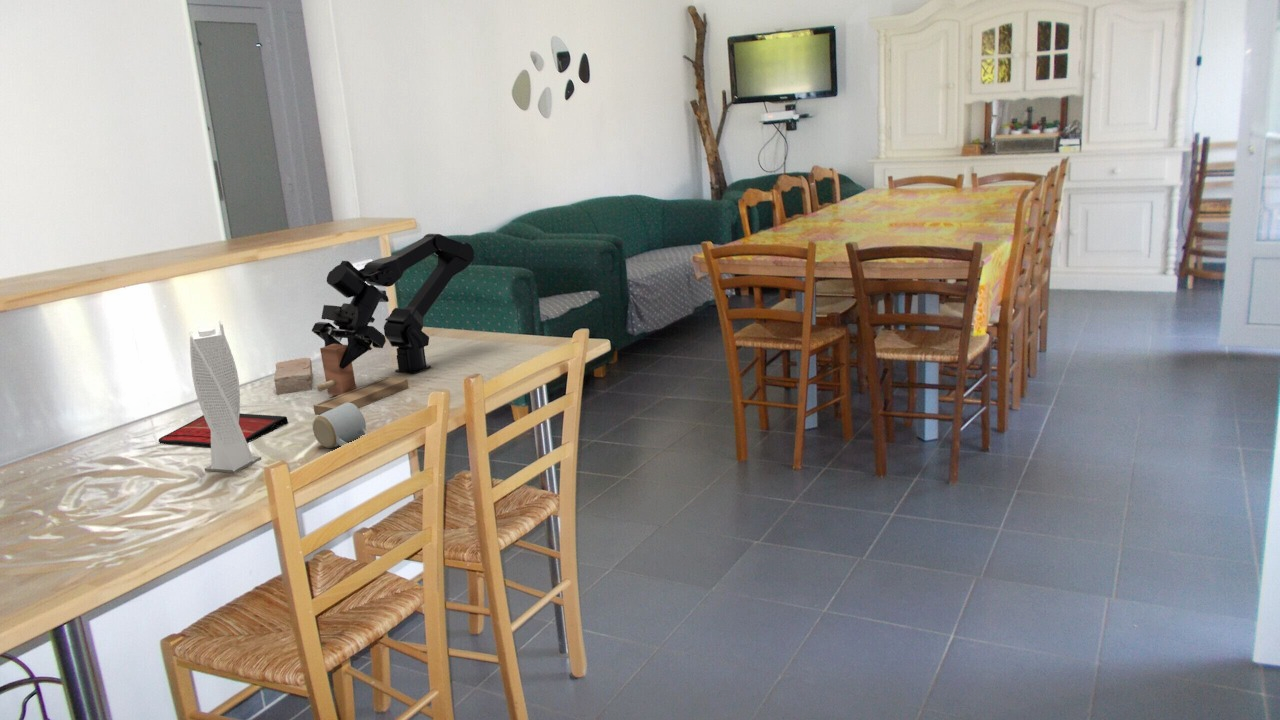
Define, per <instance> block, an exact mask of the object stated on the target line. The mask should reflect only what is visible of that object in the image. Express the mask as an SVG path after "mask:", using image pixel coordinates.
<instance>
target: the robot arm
mask: <svg viewBox="0 0 1280 720" xmlns="http://www.w3.org/2000/svg"><path fill="white" fill-rule="evenodd" d="M474 251H475V250H474V248H473V246H472V245H471V244H470V243H468V242H460V241H457V240H455V239H452V238H449V237H446V236H445V235H443V234H439V233H427V234H425V235H424V236H423V237H422V238H420V239H418V240H417V241H415V242H413V243H411V244H410V245H407V247H405V248H403V249H402V250H400V251H398V252H396V253H394V254H393V255H390V256H385V257H381V258H377V259H374V260H372V261H369V262H367V263H366V264H365V265H364V266H363V268H361V269H357V268H356V267H355V266H354V265H353V264H352V263H351V262H350V261H349V260H341V262H340V264H338V265H337V266H335V267H334V268H332V270H330V271H329V272H328V274H327V277H326V283H327V285H329V286H330V287H332V288H333V289H334V290H336V291H337V292H338V293H340V294H341V295H342V296H344V297H345V298H347V299H348V298H352V299H351V300H350V302H349V303H342V305H339V306H337V305H329V304H323V307H322V313H321V320H329V321H332V323H330V322H324V321H318V322H315V323H314V325H313V326H312V329H311V332H312V333H313V334H315V335H316V336H318V337H319V338H320V339H322V341H323V340H324V347H325V346H328V345H331V344H342V345H344V344H343V343H342V339H343V338H344V339H347V345H348V346H347V348H346V350H345V353H344V355H343V357H342V360H341V363H340V368H342V369H344V368H345V367H346V366H348V365H349V364H350V363H352V364H353V362H355V360H357V359H358V358H360V357H361V356H362V355H364V354H365V353H367V352H368V351H372V350H373V348H375V349H377V348H378V349H383V348H384V346H385V344H386V341H387V340H388V342H389V344H390V346H391V347H392V348H393V347H394V348H396V354H397V355H396V361H397V362H396V363H397V367H398V368H397V369H394V373H401V374H411V375H414V374H417V373H420V372H423V371H425V370H428V369H430V368H432V365H431V364H427V361H426V353H425V347H427V346H429V344H430V342H429V341H430V336H428V335H427V334H426V333H425V332H423V331H422V330H423V327H424V318H425V316H426V315H427V314H428V312H429V310H431V308H432V307H433V305H434V304H435V302H436V301H437V300H438V299H439V297H440V295H441V294H442V293H443V291H444V290H445V289H446V288H447V286H448V285H449V283H450V282H451V281H452V279H453V278H454V277H455V276H456V275H458V274H460V273H462V272H463V271H466V269H467V268H468V267H469V266H471V264H472V263H473V261H474V260H475V252H474ZM431 255H435V256H437V261H436V262H437V263H436V267H435V268H434V269H433V270H432V271H431V273H430V274H429V276H428V277H427V279H426V280H425V281H424V282H423V284H422V286H420V288H419V289H418V291H417V292H416V293H415V294H414V296H413V297H412V299H411V300H410V301H409V302H408V304H407V305H406V306H405V307H404V308H402V307H401V308H399V307H394V308H393V310H392V311H391V313H390V314H389V315H388V316H387V317H386V318H385V323H384V325H383V333H384V334H383V333H382V332H381V331H379V330H378V329H377V328H376V327H375V326H373V325H369V323H370V324H371V323H373V324H374V322H375V320H376V318H375V317H373V315H374V313H375V311H376V310H377V307H378V305H379V303H388V302H389V301H390V300H389V297H388V294H387V291H386V290H380V289H379V288H378V287H385V288H386V287H389V288H390V287H391V286H394V285H395V283H397V282H398V281H399V280H401V278H402V277H403V274H404V273H405V272H406V271H407V270H408V269H409V268H411V267H414V265H416V264H418V263H420V262H422V261H423V260H425V259H426V258H428V257H430V256H431ZM335 326H336V327H335ZM337 327H338V328H337ZM371 345H372V347H371Z"/></svg>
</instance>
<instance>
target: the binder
mask: <svg viewBox="0 0 1280 720" xmlns="http://www.w3.org/2000/svg"><path fill="white" fill-rule="evenodd" d="M282 424H283V425H287V424H289V421H288V417H287V416H285V415H284V416H282V415H272V414H271V415H269V414H267V415H266V414H251V413H240V414H239V426H240V428H241V430H242V432H243V435H244V437H245V439H246V442H247V443H249V442H251V441H253V440H255V439H258V438H260V437H263V436H265V435H267V434H269V433H271V432H273V431H275V430H277V429H278V427H275V426H276V425H282ZM273 427H275V428H273ZM159 442H160V443H159ZM158 443H159V444H161V443H164V444H163V445H181V444H183V445H184V446H197V445H199V447H200V446H201V447H209V448H211V430H210V428H209V426H208V424H207V422H206V420H205V417H204V415H203V414H202V415H201V416H200V417H197V418H196V419H194V420H192V421H190V422H188V423H187V424H183V426H181V427H178V428H176V429H175V430H173V431H171V432H169V433H167V434H165V435H164V436H161V437H160V438H159V439H158ZM165 443H166V444H165Z"/></svg>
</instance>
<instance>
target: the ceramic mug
mask: <svg viewBox="0 0 1280 720" xmlns="http://www.w3.org/2000/svg"><path fill="white" fill-rule="evenodd" d="M366 424H367V423H366V419H365V417H364V414H363V413H362V411H361V410H360V407H359V408H358V407H357V406H355V405H354V404H352V403H344V404H342V405H340V406H338V407H336V408H334V409H331V410H329V411H327V412H324V413H322V414H321V415H319V414H318V415H317V416H316V417H315V418H314V420H313V422H312V431H313V434H314V437H315V439H316V440H317V442H318V443H319V444H320V445H321V446H322V447H324V448H326V449H332V448H336V447H341V446H342V445H344V444H346V443H350V442H352V440H353V441H355V440H354V439H356V438H358V437H360V436H362V435H365V434H367V435H368V433H367V425H366ZM362 437H363V436H362ZM358 439H359V438H358ZM356 440H357V439H356Z"/></svg>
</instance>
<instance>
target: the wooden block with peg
mask: <svg viewBox="0 0 1280 720" xmlns="http://www.w3.org/2000/svg"><path fill="white" fill-rule="evenodd" d="M342 344H343V343H341V344H331V345H328V346H325V345H324V346H323V347H320V349H319V350H320V356H321V361H322V362H321V363H322V366H323V367H322V368H323V372H324V378H325V382H322V383H319V384H318V385H317V386H316V387H317V390H318V392H323V391H325V390H327V394H328V395H330V396H331V395H332V396H339V395H341V394H344V393H347V392H349V391H352V390H355V389H357V384H356V379H355V374H354V373H355V372H354V366H353V362H352V363H350V364H349V365H348V366H346V367H345V368H344V369H342V368H340V363H341V360H342V357H343V355H344V353H345V350H346V348H347V346H348V344H343V345H342Z"/></svg>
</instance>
